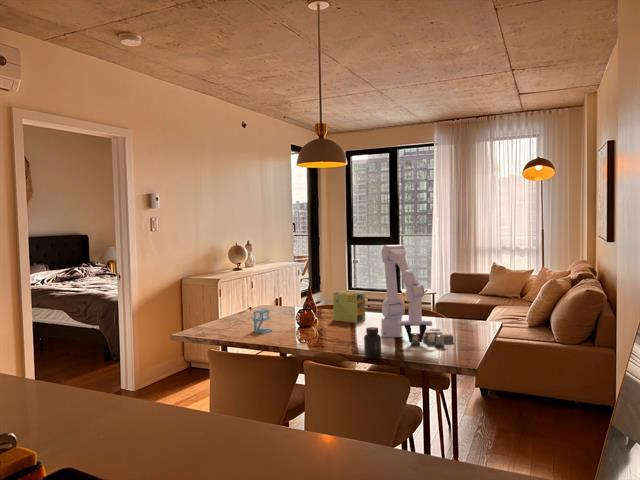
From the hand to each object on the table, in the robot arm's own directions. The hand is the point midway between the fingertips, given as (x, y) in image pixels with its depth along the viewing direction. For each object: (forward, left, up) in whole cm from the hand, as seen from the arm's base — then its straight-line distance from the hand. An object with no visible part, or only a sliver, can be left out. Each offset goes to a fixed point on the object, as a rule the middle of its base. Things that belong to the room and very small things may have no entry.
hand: (415, 341), depth 218 cm
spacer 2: (+10, -3, -2) cm, 11 cm away
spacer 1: (0, 0, -1) cm, 1 cm away
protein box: (-29, +57, -2) cm, 64 cm away
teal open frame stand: (-74, +28, -2) cm, 79 cm away
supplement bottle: (-20, -20, -2) cm, 28 cm away
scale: (+11, +9, -1) cm, 14 cm away
